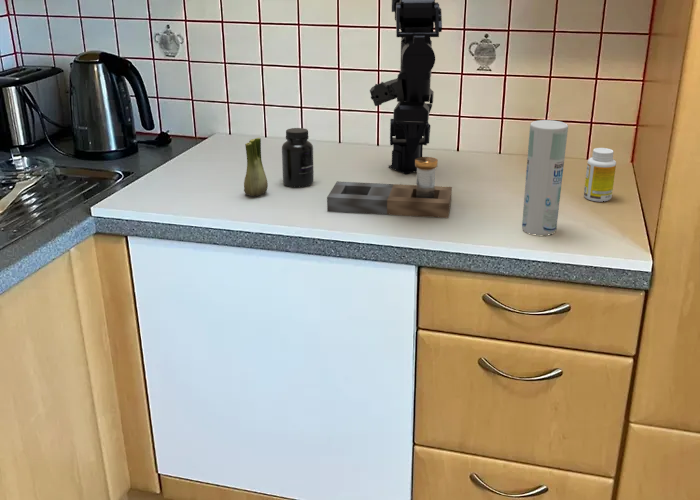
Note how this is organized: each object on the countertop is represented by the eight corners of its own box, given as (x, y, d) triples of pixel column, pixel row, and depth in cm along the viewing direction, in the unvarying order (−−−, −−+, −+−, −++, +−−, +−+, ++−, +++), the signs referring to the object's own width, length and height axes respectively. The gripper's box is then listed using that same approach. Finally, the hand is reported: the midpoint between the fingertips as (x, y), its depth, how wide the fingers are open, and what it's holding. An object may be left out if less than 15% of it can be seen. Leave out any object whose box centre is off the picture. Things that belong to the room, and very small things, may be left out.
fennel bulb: (260, 188, 164) (257, 134, 159) (274, 193, 161) (271, 138, 156) (238, 195, 160) (234, 140, 156) (253, 200, 157) (249, 144, 152)
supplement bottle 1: (309, 189, 163) (308, 135, 159) (279, 187, 165) (276, 133, 160) (317, 179, 170) (315, 126, 165) (287, 177, 171) (285, 125, 166)
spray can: (550, 239, 137) (561, 130, 129) (515, 232, 140) (524, 125, 132) (561, 227, 142) (573, 122, 134) (528, 221, 145) (537, 118, 137)
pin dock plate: (451, 200, 156) (451, 186, 155) (448, 218, 147) (448, 203, 145) (337, 194, 160) (336, 181, 159) (327, 211, 151) (327, 197, 150)
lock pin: (426, 202, 155) (427, 155, 151) (440, 208, 152) (442, 160, 148) (409, 207, 153) (410, 159, 149) (423, 213, 149) (425, 164, 145)
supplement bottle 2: (617, 200, 155) (624, 151, 151) (596, 204, 153) (602, 155, 149) (598, 192, 160) (604, 145, 156) (577, 196, 158) (583, 148, 154)
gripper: (379, 57, 151) (378, 134, 157) (366, 74, 134) (366, 159, 141) (434, 58, 150) (432, 135, 156) (429, 75, 133) (426, 161, 139)
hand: (413, 147), depth 148 cm, fingers open, 9 cm apart
